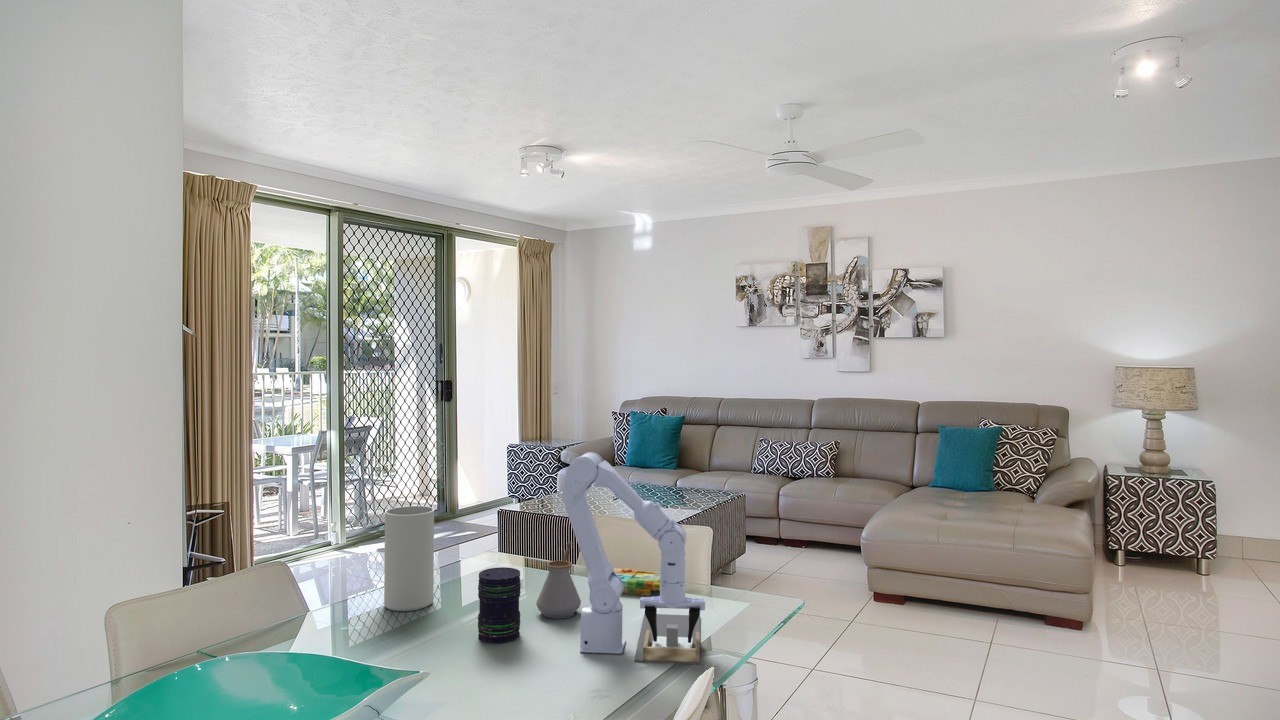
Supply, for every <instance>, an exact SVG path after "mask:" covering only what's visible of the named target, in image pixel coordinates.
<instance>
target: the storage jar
mask: <svg viewBox="0 0 1280 720" xmlns="http://www.w3.org/2000/svg"><path fill="white" fill-rule="evenodd" d="M521 584H522V583H521V571H520V570H519V569H518V568H514V567H504V566H503V567H493V568H492V567H491V568H490V567H489V568H486V569H484V570H481V571H480V572H479V573H478V584H477V585H478V586H477V590H478V593H477V597H478V599H479V613H478V615H477V629H478V636H477V638H478V641H479V642H482V643H484V644H488V645H503V644H509V643H513V642H515V641H517V640H518V639H519V638H520V637H521V636H520V635H521V632H520V629H521V611H520V597H521V593H522V591H521V586H522V585H521Z"/></svg>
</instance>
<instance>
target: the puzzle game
mask: <svg viewBox="0 0 1280 720" xmlns="http://www.w3.org/2000/svg"><path fill="white" fill-rule="evenodd" d="M613 568H614V571H615V573H616V574H617V575H618V576H619V577H620V578H621V580H622V581H623V585H624V589H623V593H622V594H628V593H633V594H632V595H638V594H644V595H643V596H650V595H652V593H653V592H654V591H657V592H658V591H659V592H660V571H659V572H658V571H657V572H656V571H648V570H647V571H646V570H636V569H632V568H629V567H627V568H619V567H617V568H616V567H613Z"/></svg>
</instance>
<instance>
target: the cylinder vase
mask: <svg viewBox="0 0 1280 720" xmlns="http://www.w3.org/2000/svg"><path fill="white" fill-rule="evenodd" d="M434 545H435V508H434V507H433V506H432V507H431V506H426V505H425V506H424V505H408V506H407V505H406V506H398V507H392V508H389V509H386V510H385V511H384V571H383V572H384V574H383V575H384V576H383V577H384V578H383V580H384V581H383V582H384V583H383V587H384V589H383V593H384V594H383V595H384V597H383V602H384V603H383V605H384V606H385V608H386V609H387V610H390V611H395V612H411V611H418V610H422V609H425V608H428V607H429V606H430V605H432V604H433V602H434V583H435V582H434V580H435V579H434V576H435V575H434V573H435V571H434V570H435V569H434V568H435V567H434V566H435V564H434V563H435V558H434V555H435V554H434V552H435V546H434Z"/></svg>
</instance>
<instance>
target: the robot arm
mask: <svg viewBox="0 0 1280 720" xmlns="http://www.w3.org/2000/svg"><path fill="white" fill-rule="evenodd" d="M593 483H594V484H593ZM592 485H593V486H594V487H598V488H599V487H601V488H607V489H609V490H610V491H611V492H612V493H613V494H615V496H617V498H618V499H620V500H621V501H622V502H623V503H624V504H626V505H627V506H628V508H629V509H631V510H632V511H633V516H634V521H636V523H637V524H638V525H639V526H640V527H642V528H643V530H644V531H646V533H647V534H649V535H650V536H651V538H653V539H654V540H656V541H657V543H658V544H657V545H658V547H659V550H660V558H659V562H660V563H659V573H660V590H659V596H645V597H644V596H641V597H640V599H639V608H640V609H644V614H645V615H646V618H647V620H648V622H649V624H650V627H651V630H652V634H653V641H654V642H657V623H656V621H657V614H658V613H657V612H658V611H657V610H658V609H677V610H678V609H679V610H680V609H681V610H682V609H683V610H688V615H689V631H688V643H691V638H692V634H693V630H694V627H695V625H696V622H697V620H698V618H699V616H700V615H701V611H706V599H705V598H694V597H689V596H686V567H687V566H686V565H687V564H686V563H687V562H686V561H687V560H686V558H685V557H686V551H685V550H686V549H685V547H686V543H687V532H686V530H685V529H684V527H683V526H682V524H680V523H677V521H676V520H675V519H671V518H670V517H669V516H668V515H667V514H666V513H665V512H664V511H663V510H662V509H661V507H662V505H661V504H660V503H659V502H656V503H655V502H654V501H653V500H644V499H643V498H642V497H641V496H640V495H639V494H638V493H637V491H636V490H635V489H634V488H633V487H631V485H630V484H629V483H628V482H627V481H626V480H625V479H624V478H623V477H622V476H621V474H620V473H618V471H617V470H616V469H615V468H614V467H613V466H612V465H611V463H609V462H608V461H607V460H605V459H604V458H602V456H601V455H600V454H599V453H597V452H593V451H589V452H585V453H584V454H582V455H581V456H578V457H576V458H574V459H573V460H572V461H571V463H570V464H569V466H568V467H567V469H566V470H565V478H564V483H563V489H562V493H561V498H562V501H563V505H564V507H565V511H566V513H567V516H568V519H569V521H570V524H571V527H572V531H573V534H574V536H575V540H576V543H577V544H578V547H579V551H580V553H581V556H582V559H583V561H584V565H585V567H586V570H587V585H588V587H589V596H588V597H589V598H588V599H589V603H590V606H583V607H582V609H581V615H580V649H579V652H580V653H589V654H590V653H595V654H596V653H597V654H618V655H620V654H622V653H624V647H625V644H626V638H623V604H622V602H621V600H620V597H621V596H622V595H623V594H624V593H623V589H624V585H623V581H622V580H621V578H620V577H619V576H618V575H617V574H616V573H615V571H614V568H615V567H614V565H612V564H611V562H609V560H608V557H607V554H606V551H605V548H604V546H603V543H602V541H601V538H600V534H599V531H598V529H597V526H596V522H595V521H594V518H593V515H592V511H591V510H590V506H589V504H588V500H587V498H586V497H587V494H588V493H589V491H590V489H591V487H592ZM700 617H701V616H700Z"/></svg>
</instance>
